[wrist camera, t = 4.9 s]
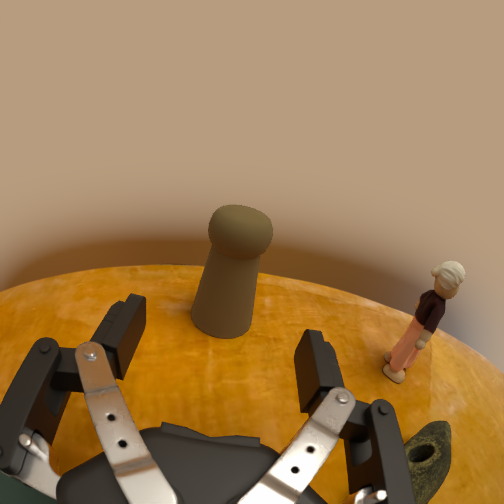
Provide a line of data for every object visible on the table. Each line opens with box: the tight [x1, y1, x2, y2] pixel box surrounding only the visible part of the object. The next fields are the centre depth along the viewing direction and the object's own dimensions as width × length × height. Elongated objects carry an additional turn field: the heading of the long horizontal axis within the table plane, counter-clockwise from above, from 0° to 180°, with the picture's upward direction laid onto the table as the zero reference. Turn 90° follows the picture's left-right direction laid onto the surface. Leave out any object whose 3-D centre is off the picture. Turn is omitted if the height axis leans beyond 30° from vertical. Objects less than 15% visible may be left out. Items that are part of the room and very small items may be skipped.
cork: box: [191, 205, 273, 338], centre depth 24 cm, size 6×6×11 cm
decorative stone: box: [404, 421, 451, 504], centre depth 10 cm, size 11×8×5 cm
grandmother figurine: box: [383, 261, 465, 383], centre depth 22 cm, size 8×4×13 cm, turn 162°
